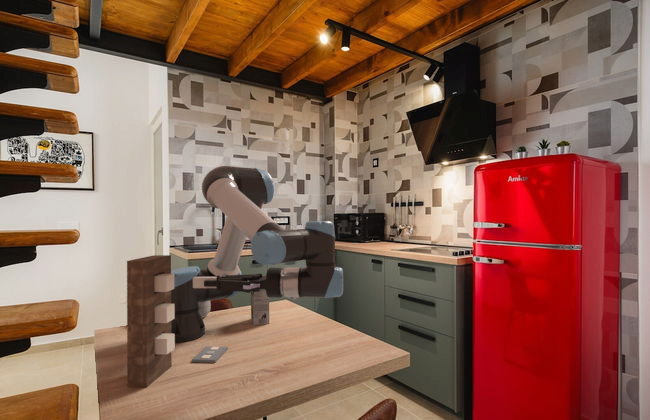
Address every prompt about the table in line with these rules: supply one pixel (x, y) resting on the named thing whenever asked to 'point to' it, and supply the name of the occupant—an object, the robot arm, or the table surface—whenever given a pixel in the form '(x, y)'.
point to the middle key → (164, 313)
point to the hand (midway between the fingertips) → (194, 282)
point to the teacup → (205, 308)
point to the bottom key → (164, 343)
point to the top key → (163, 282)
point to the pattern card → (210, 354)
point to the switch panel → (145, 320)
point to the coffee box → (259, 307)
